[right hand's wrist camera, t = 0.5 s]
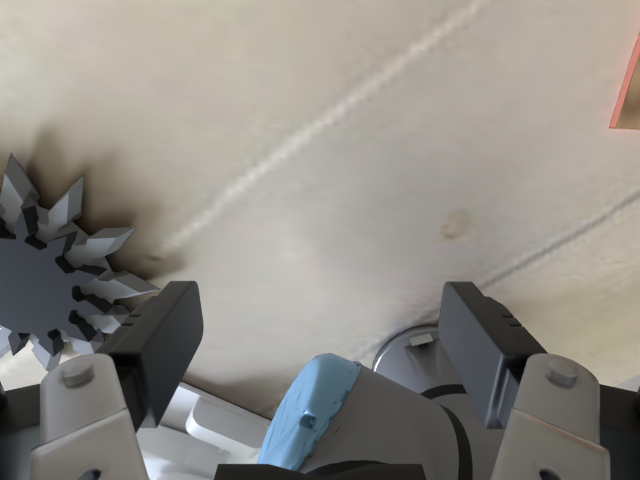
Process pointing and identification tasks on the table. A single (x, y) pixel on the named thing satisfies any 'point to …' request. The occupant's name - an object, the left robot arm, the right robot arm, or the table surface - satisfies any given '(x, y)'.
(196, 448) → the microscope
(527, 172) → the table surface
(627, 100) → the cabinet
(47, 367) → the decorative piece
